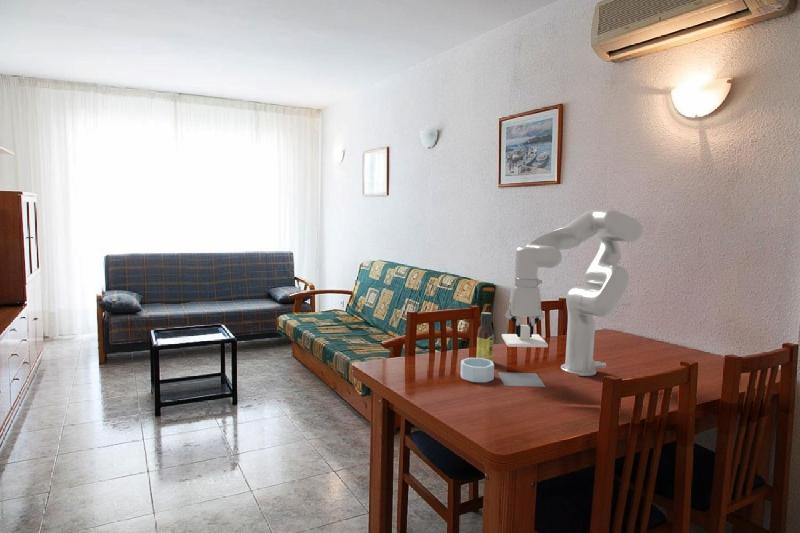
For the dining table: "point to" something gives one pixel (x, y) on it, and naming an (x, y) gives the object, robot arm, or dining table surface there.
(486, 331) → the sauce bottle
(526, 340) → the lid
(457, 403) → the dining table surface
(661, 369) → the dining table surface
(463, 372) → the bowl
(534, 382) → the mat
